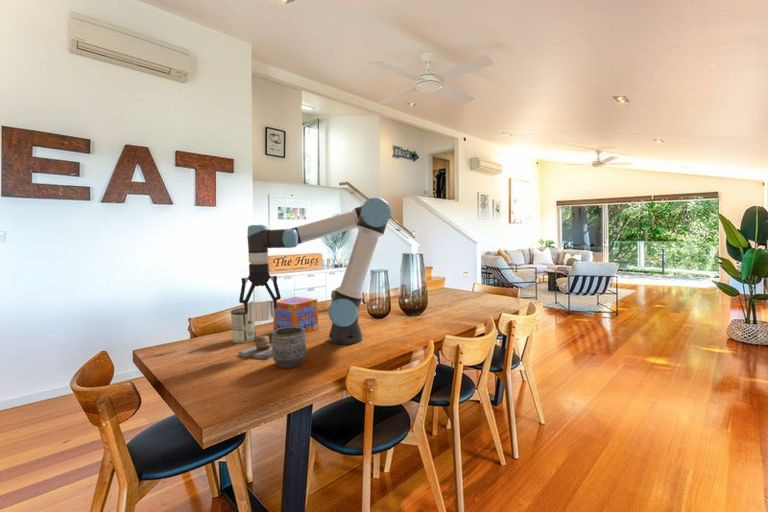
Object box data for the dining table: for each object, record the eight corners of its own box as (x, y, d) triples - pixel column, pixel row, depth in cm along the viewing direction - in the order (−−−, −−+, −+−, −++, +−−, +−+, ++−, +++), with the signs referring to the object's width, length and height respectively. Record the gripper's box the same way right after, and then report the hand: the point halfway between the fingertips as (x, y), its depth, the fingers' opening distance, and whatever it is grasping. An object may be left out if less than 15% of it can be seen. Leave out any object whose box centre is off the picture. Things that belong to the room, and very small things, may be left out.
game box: (297, 325, 196) (296, 296, 195) (318, 329, 187) (317, 298, 186) (273, 332, 183) (272, 301, 182) (295, 337, 175) (293, 304, 173)
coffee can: (239, 336, 178) (237, 307, 177) (259, 336, 177) (258, 307, 176) (227, 343, 167) (226, 312, 166) (249, 343, 166) (248, 312, 165)
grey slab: (286, 349, 156) (285, 334, 155) (267, 359, 144) (266, 342, 144) (258, 346, 161) (258, 332, 160) (239, 355, 149) (238, 340, 149)
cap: (276, 317, 154) (275, 300, 153) (262, 321, 146) (262, 304, 146) (259, 315, 157) (258, 299, 156) (245, 320, 149) (244, 303, 149)
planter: (289, 372, 130) (287, 337, 129) (265, 366, 136) (264, 332, 135) (313, 361, 140) (312, 328, 139) (290, 356, 147) (289, 325, 146)
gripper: (284, 261, 158) (286, 313, 159) (229, 263, 149) (232, 319, 150) (287, 262, 151) (289, 317, 152) (230, 265, 142) (233, 323, 144)
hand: (261, 318), depth 151 cm, fingers closed on cap, 9 cm apart
